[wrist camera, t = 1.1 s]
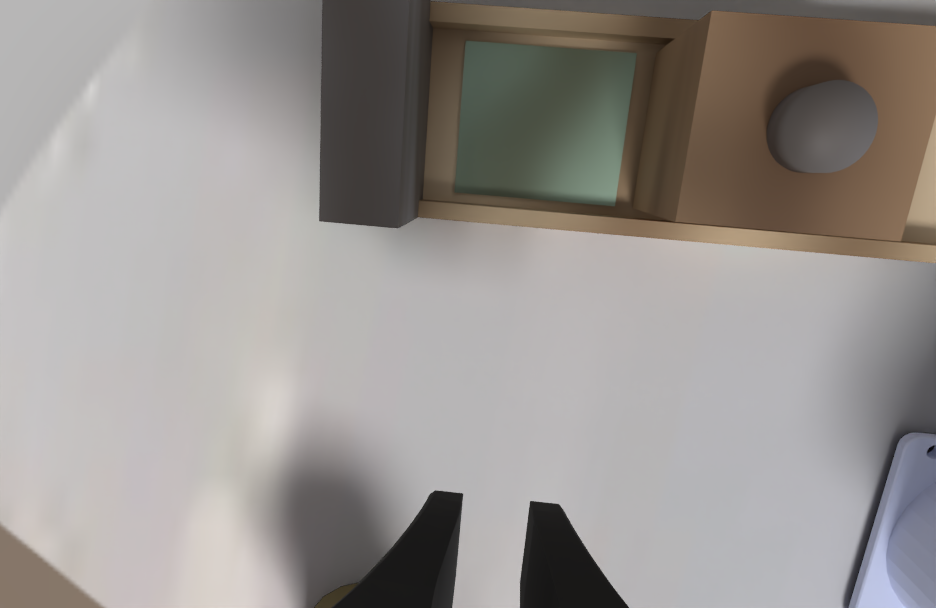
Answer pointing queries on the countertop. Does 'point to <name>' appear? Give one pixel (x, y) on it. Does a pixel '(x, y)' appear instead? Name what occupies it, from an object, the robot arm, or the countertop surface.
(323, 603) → the cork
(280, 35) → the countertop surface
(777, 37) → the carriage
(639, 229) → the rail
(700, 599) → the countertop surface
